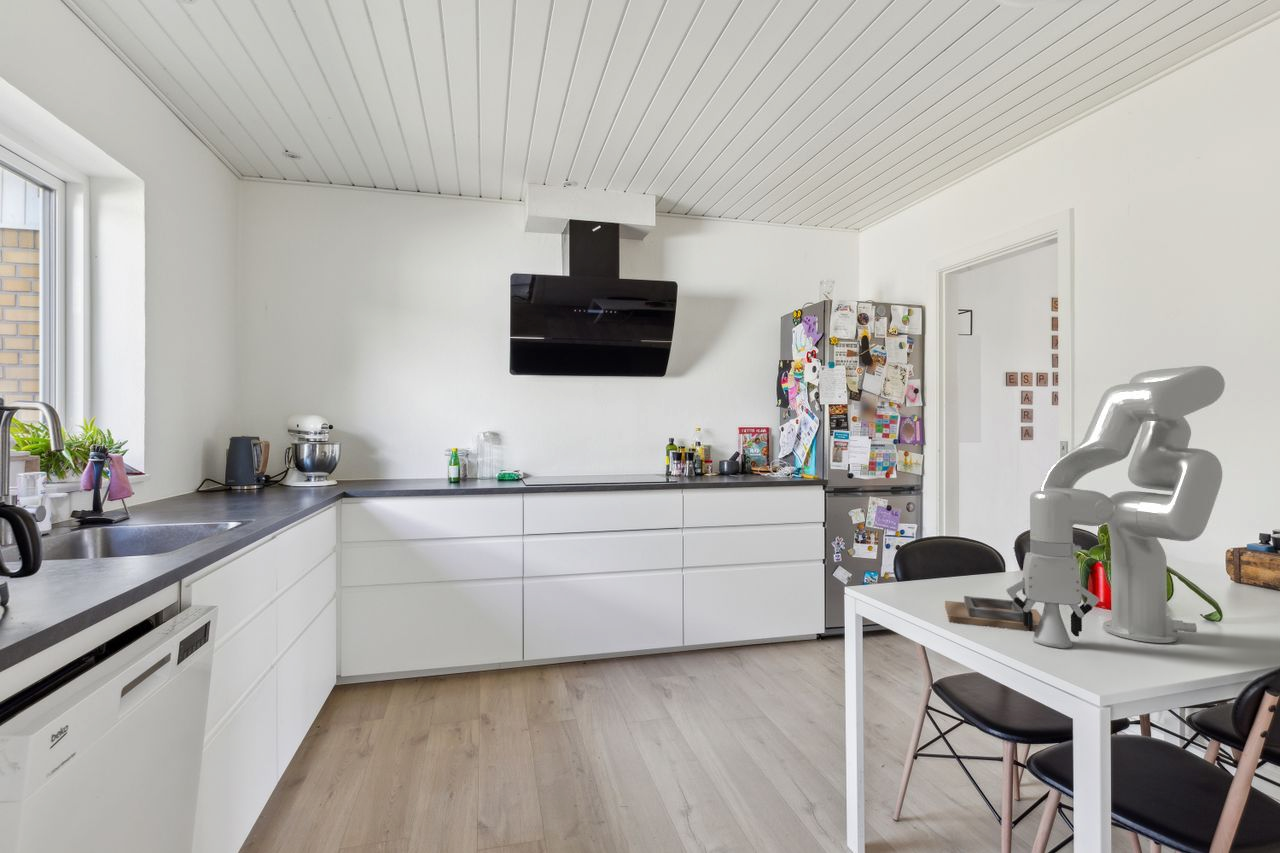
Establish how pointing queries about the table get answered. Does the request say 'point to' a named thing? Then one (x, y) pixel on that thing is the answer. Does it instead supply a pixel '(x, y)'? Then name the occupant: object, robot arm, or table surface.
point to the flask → (1052, 628)
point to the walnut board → (989, 613)
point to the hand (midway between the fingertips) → (1051, 631)
